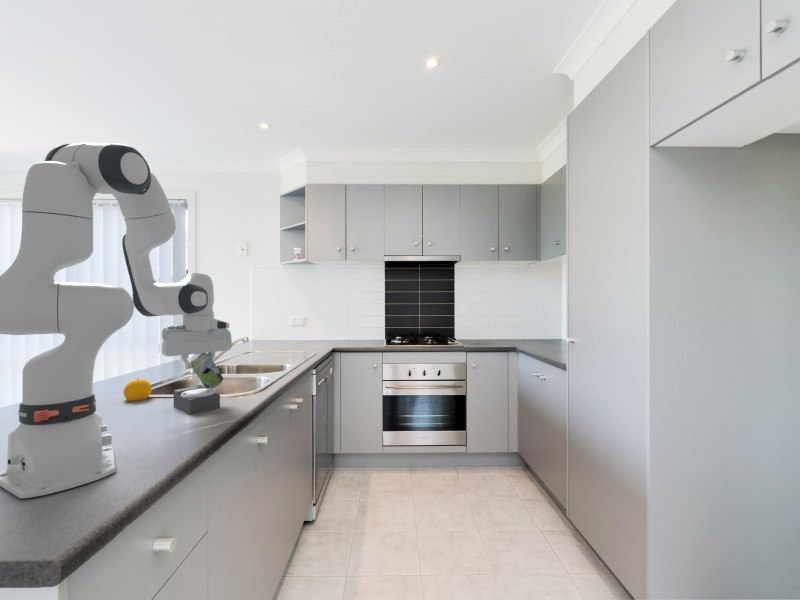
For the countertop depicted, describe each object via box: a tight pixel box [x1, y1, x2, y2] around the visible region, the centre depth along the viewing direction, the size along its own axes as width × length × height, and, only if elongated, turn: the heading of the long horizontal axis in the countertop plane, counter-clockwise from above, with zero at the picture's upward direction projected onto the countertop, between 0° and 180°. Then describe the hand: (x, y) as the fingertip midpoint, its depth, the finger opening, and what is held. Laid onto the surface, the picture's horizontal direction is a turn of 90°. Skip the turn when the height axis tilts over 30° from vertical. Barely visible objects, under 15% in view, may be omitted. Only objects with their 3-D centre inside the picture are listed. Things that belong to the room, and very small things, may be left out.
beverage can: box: [190, 353, 224, 389], centre depth 121 cm, size 6×7×12 cm
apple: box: [123, 378, 152, 402], centre depth 130 cm, size 8×8×8 cm
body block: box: [173, 383, 221, 415], centre depth 120 cm, size 13×10×6 cm
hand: (198, 367), depth 119 cm, fingers closed on beverage can, 4 cm apart
